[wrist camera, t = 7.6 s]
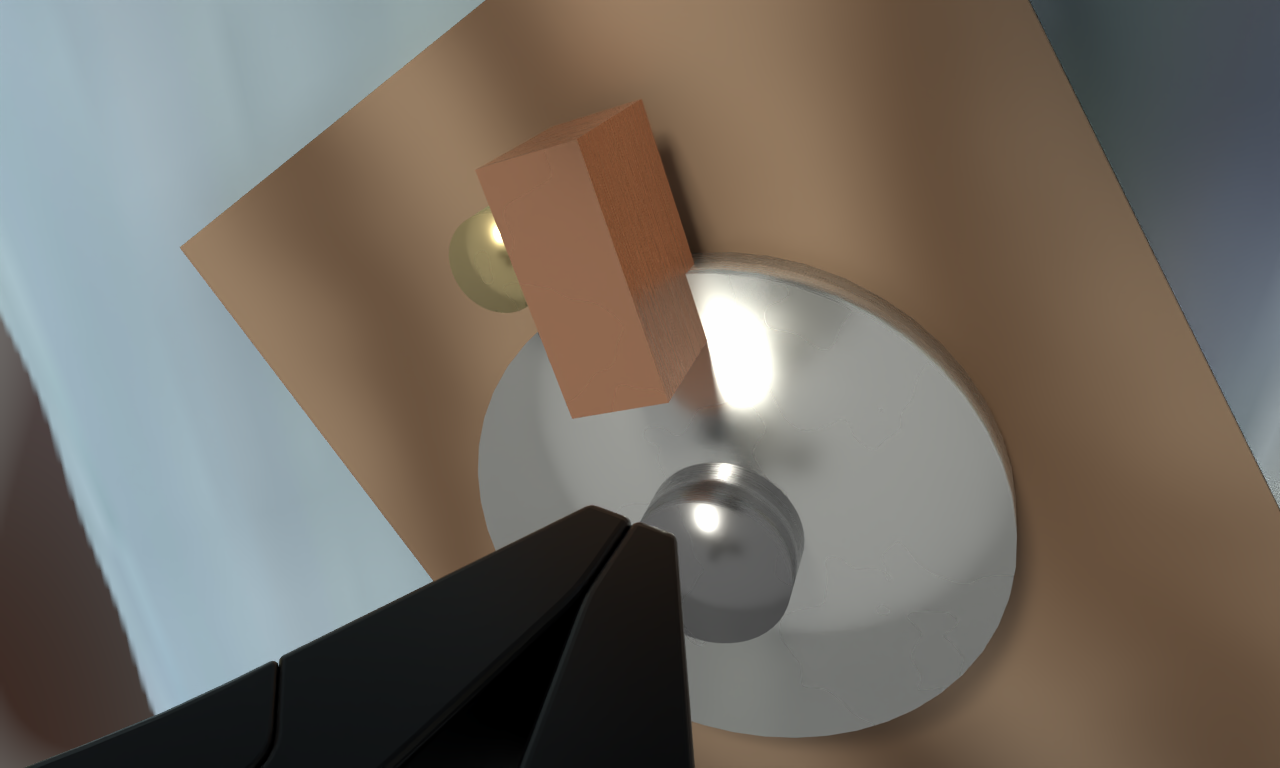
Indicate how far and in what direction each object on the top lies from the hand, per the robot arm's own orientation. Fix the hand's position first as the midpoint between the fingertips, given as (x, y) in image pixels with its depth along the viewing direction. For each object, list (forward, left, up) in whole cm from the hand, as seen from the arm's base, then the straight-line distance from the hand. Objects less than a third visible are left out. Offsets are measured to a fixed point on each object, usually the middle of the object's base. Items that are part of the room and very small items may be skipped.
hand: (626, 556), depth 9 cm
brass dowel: (+4, -2, -11) cm, 12 cm away
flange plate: (+4, +3, -10) cm, 11 cm away
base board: (+4, +5, -12) cm, 13 cm away
